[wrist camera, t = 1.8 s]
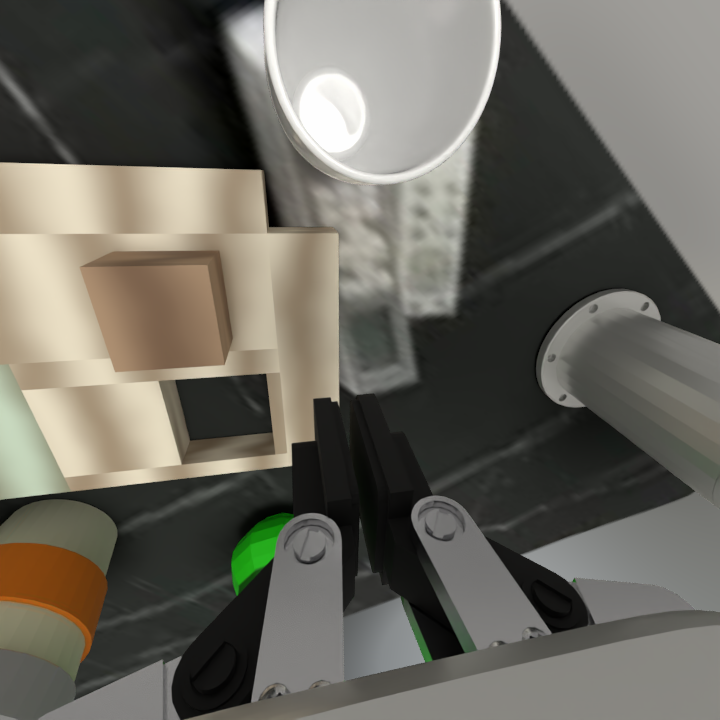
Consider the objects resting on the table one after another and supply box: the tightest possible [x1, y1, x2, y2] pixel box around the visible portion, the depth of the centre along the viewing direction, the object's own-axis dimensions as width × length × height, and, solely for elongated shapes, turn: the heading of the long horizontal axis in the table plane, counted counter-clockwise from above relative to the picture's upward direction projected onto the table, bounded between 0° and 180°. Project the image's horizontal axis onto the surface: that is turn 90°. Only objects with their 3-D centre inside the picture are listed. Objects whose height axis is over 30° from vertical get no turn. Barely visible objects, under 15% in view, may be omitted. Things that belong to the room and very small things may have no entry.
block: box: [80, 250, 233, 372], centre depth 21 cm, size 6×6×4 cm
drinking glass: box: [263, 0, 501, 186], centre depth 16 cm, size 7×7×15 cm
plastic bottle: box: [231, 513, 294, 595], centre depth 28 cm, size 10×10×25 cm
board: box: [0, 163, 339, 500], centre depth 25 cm, size 32×23×3 cm
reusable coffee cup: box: [0, 499, 117, 720], centre depth 27 cm, size 12×12×15 cm
